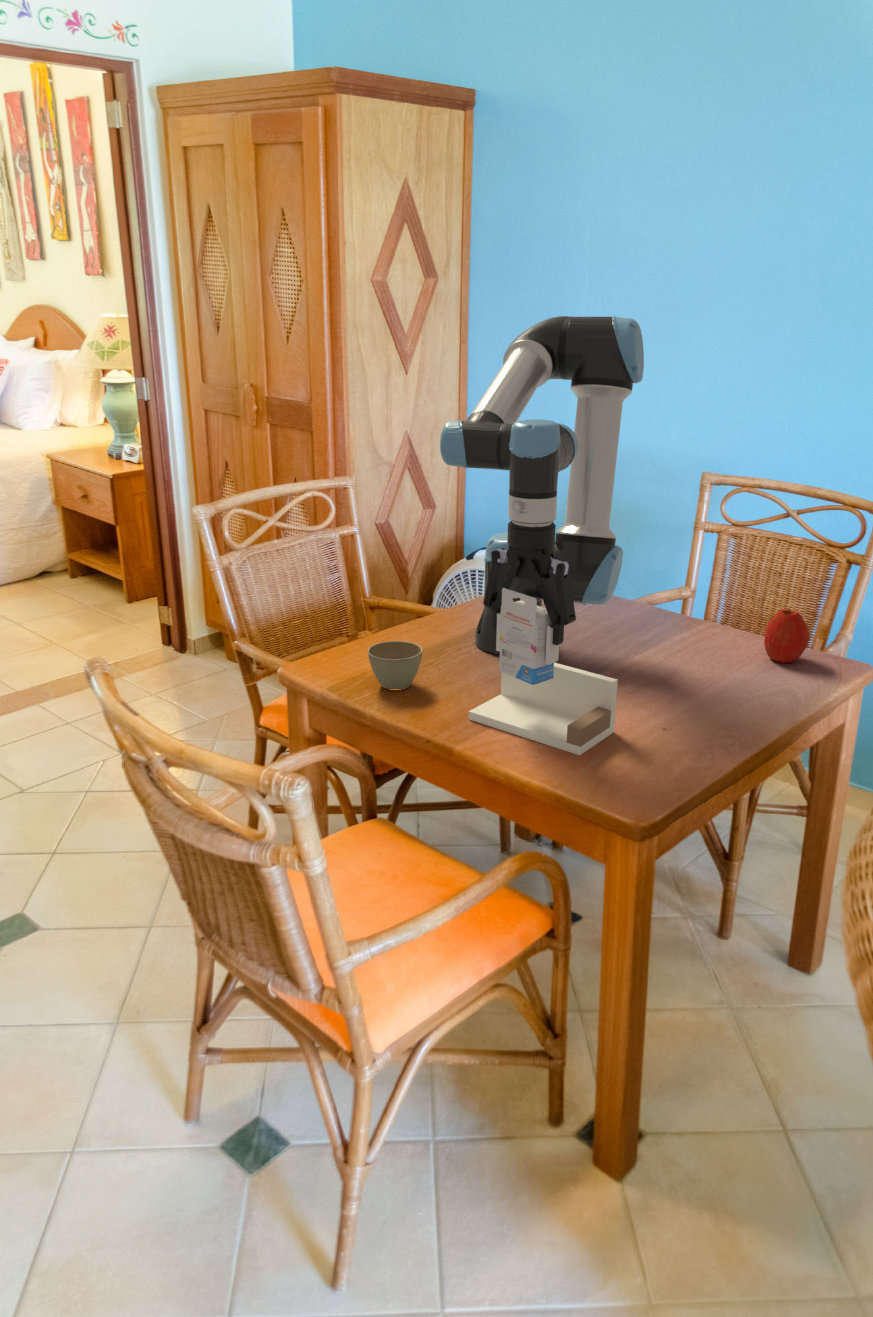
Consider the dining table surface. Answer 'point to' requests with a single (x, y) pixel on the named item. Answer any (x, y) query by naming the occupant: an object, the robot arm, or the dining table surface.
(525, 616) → the ink box
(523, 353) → the robot arm
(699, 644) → the dining table surface
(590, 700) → the shelf
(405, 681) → the flower pot
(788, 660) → the apple
